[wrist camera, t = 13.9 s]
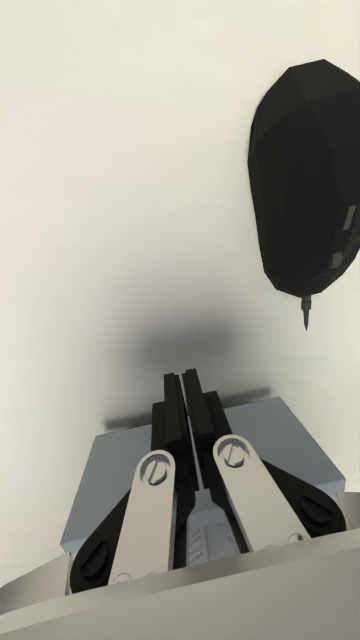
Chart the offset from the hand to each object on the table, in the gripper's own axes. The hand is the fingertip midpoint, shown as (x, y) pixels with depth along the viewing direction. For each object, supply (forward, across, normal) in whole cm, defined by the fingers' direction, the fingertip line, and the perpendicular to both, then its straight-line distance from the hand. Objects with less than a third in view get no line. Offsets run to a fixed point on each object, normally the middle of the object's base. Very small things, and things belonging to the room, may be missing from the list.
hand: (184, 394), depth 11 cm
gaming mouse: (+5, -9, -7) cm, 13 cm away
